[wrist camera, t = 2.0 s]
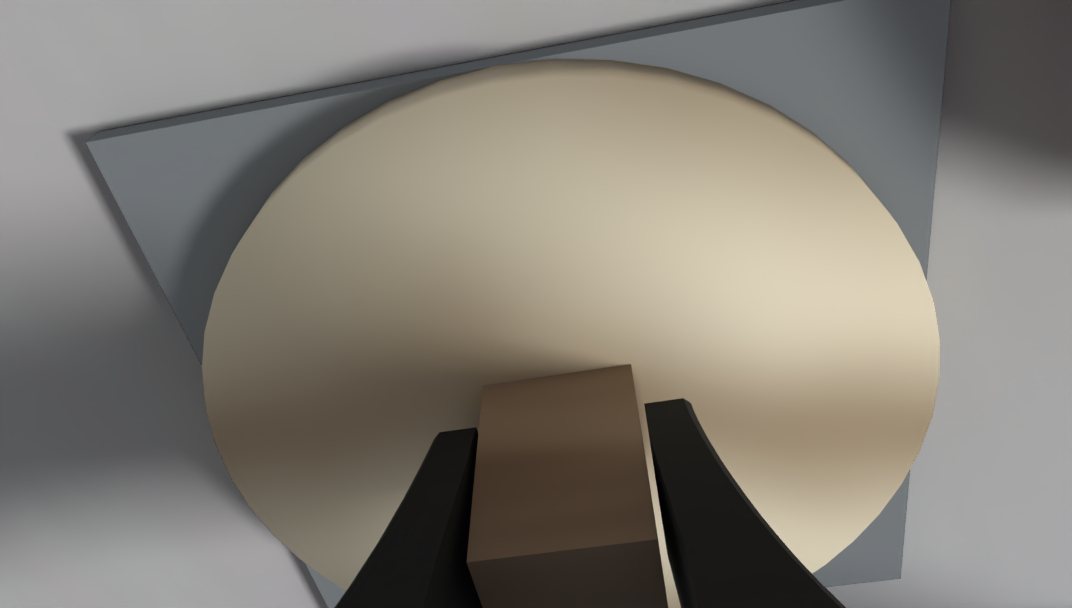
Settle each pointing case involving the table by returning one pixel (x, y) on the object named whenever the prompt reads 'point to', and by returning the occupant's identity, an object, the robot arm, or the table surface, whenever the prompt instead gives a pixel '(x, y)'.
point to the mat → (690, 47)
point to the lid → (569, 326)
